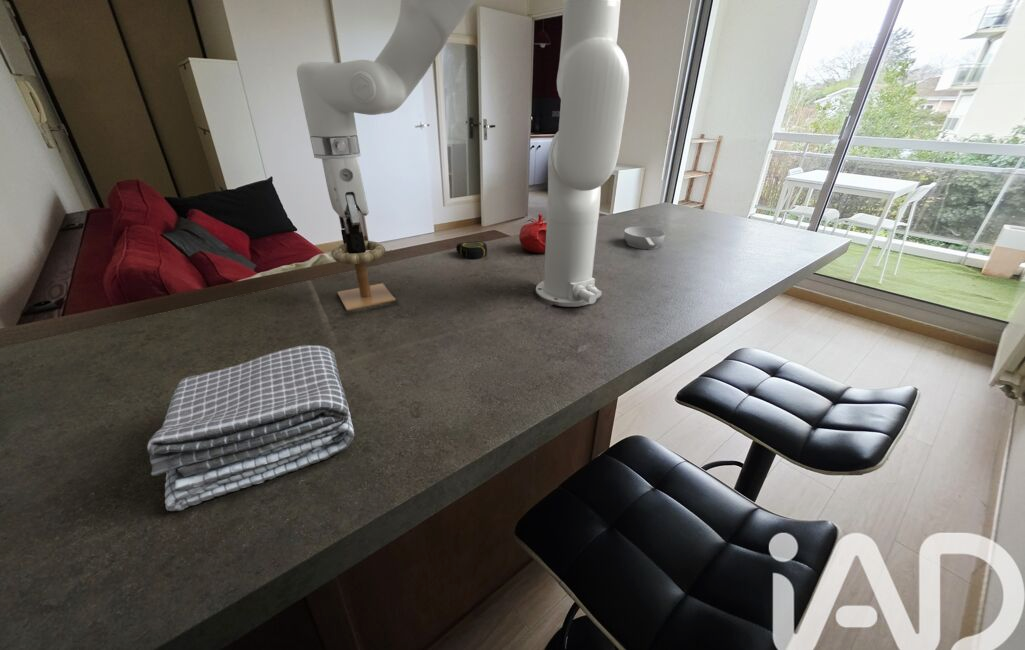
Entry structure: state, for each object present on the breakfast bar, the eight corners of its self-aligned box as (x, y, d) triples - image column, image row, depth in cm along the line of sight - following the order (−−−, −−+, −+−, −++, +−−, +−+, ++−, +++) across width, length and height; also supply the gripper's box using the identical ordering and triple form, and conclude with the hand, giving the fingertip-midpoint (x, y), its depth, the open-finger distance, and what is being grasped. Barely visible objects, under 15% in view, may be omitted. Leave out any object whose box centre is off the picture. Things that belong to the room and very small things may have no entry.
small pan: (659, 239, 119) (661, 226, 117) (671, 260, 103) (674, 245, 102) (621, 237, 120) (622, 224, 118) (627, 258, 105) (629, 243, 103)
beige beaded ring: (391, 259, 76) (390, 249, 75) (338, 268, 71) (336, 258, 71) (377, 245, 82) (376, 236, 82) (328, 253, 78) (326, 244, 77)
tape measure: (481, 252, 108) (481, 238, 106) (491, 260, 102) (491, 246, 100) (456, 255, 105) (455, 241, 103) (464, 264, 100) (464, 249, 98)
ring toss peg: (396, 304, 80) (389, 259, 75) (347, 315, 76) (338, 267, 71) (383, 288, 87) (376, 245, 82) (338, 297, 82) (328, 252, 78)
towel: (361, 451, 46) (349, 395, 43) (159, 520, 39) (121, 459, 35) (340, 380, 58) (329, 331, 54) (181, 421, 50) (155, 368, 47)
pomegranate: (511, 251, 109) (512, 215, 104) (532, 241, 116) (533, 208, 112) (544, 258, 104) (545, 221, 99) (563, 248, 111) (565, 213, 107)
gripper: (370, 150, 66) (386, 259, 75) (349, 143, 79) (365, 237, 87) (320, 153, 63) (343, 267, 72) (306, 144, 75) (327, 243, 84)
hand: (355, 250), depth 80 cm, fingers closed on beige beaded ring, 2 cm apart
